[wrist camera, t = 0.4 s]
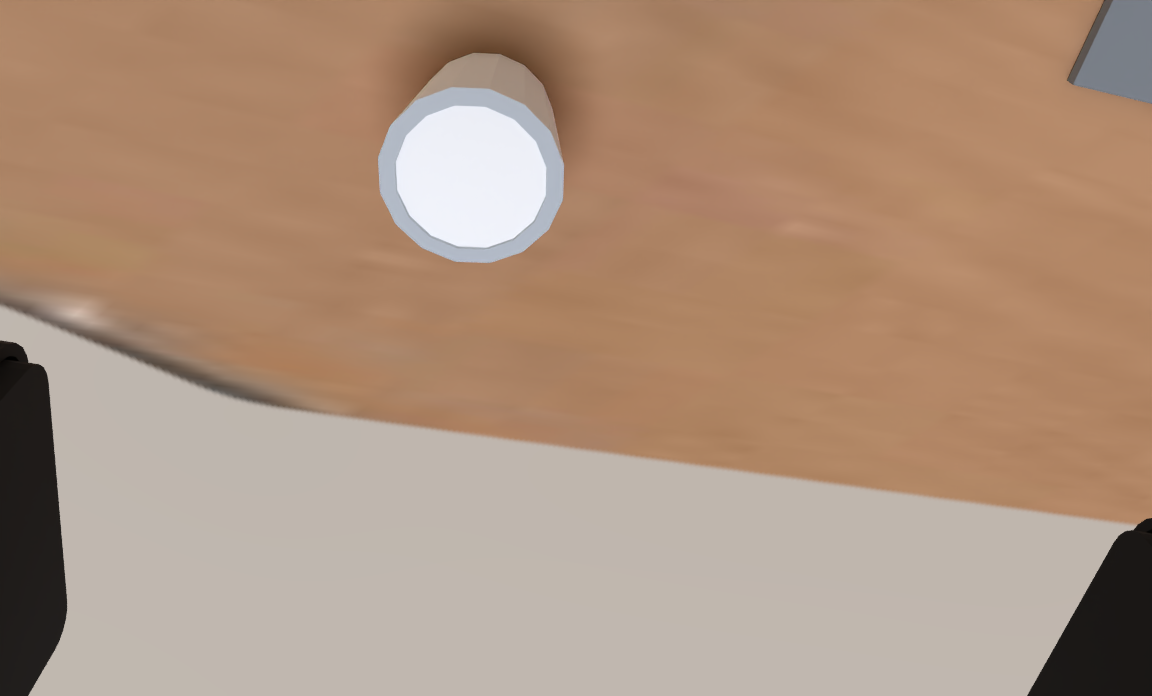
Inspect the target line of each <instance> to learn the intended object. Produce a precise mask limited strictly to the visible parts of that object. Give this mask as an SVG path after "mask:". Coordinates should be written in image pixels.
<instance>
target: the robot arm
mask: <svg viewBox="0 0 1152 696" xmlns="http://www.w3.org/2000/svg"><path fill="white" fill-rule="evenodd" d="M59 513H60V512H59V501H58V489H57V477H56V465H55V454H54V442H53V430H52V419H51V408H50V395H49V383H48V377H47V373H46V371H45V369H44V367H42V366H41V365H39V364H33V363H28V358H27V355H26V353H25V351H24V349H23V347H21V346H20V345H18V344H17V343H13V342H6V341H0V696H28V695H29V693H30V691H31V690H32V688H33V686H34V685H35V683H36V681H37V679H38V678H39V676H40V674H41V673H42V671H43V669H44V667H45V666H46V664H47V662H48V661H49V659H50V657H51V655H52V654H53V652H54V650H55V648H56V646H57V644H58V642H59V640H60V637H61V634H62V632H63V628H64V624H65V620H66V613H67V594H66V583H65V572H64V560H63V548H62V536H61V525H60V514H59ZM1027 696H1152V518H1149V519H1146V520H1144V521H1143V522H1141V523H1140V524H1138V525H1137V526H1136V528H1135V529H1134V530H1131V531H1125V532H1124V533H1122V534H1121V535H1119V536H1118V538H1117V539H1116V541H1115V542H1114V543H1113V545H1112V547H1111V549H1110V550H1109V552H1108V554H1107V556H1106V557H1105V559H1104V561H1103V563H1102V565H1101V566H1100V568H1099V570H1098V571H1097V573H1096V575H1095V577H1094V579H1093V580H1092V582H1091V584H1090V586H1089V587H1088V589H1087V591H1086V593H1085V594H1084V596H1083V598H1082V600H1081V602H1080V603H1079V605H1078V607H1077V609H1076V610H1075V612H1074V614H1073V616H1072V617H1071V619H1070V621H1069V623H1068V625H1067V626H1066V628H1065V630H1064V632H1063V633H1062V635H1061V637H1060V639H1059V640H1058V642H1057V644H1056V646H1055V648H1054V649H1053V651H1052V653H1051V655H1050V657H1049V658H1048V660H1047V662H1046V663H1045V665H1044V667H1043V669H1042V671H1041V672H1040V674H1039V676H1038V678H1037V680H1036V681H1035V683H1034V685H1033V686H1032V688H1031V690H1030V692H1029V694H1028V695H1027Z"/></svg>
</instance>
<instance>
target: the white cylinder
mask: <svg viewBox="0 0 1152 696" xmlns="http://www.w3.org/2000/svg"><path fill="white" fill-rule="evenodd" d="M378 166H379V182H380V193H381V195H382V197H383V199H384V201H385V203H386V205H387V207H388V209H389V211H390V214H391V216H392V218H393V220H394V222H395V224H396V225H397V226H398V227H400V228H401V229H402V230H403V231H404V232H405V233H406V234H407V235H408V236H409V237H410V238H412V239H413V240H414V241H415V242H416V243H417V244H418V245H419V246H420V247H421V248H423V249H426V250H428V251H430V252H433V253H435V254H438V255H440V256H443V257H445V258H448V259H450V260H453V261H455V262H482V263H491V262H494V261H497V260H500V259H503V258H506V257H509V256H512V255H515V254H518V253H521V252H523V251H524V250H525V249H527V248H528V247H529V246H530V245H531V244H532V243H534V242H535V241H536V240H537V239H538V238H539V237H540V236H542V235H543V234H544V233H545V232H546V231H547V230H548V229H549V227H550V225H551V223H552V221H553V219H554V217H555V215H556V213H557V211H558V209H559V207H560V205H561V202H562V200H563V181H564V162H563V158H562V153H561V148H560V143H559V138H558V133H557V128H556V123H555V118H554V114H553V109H552V106H551V104H550V101H549V99H548V96H547V93H546V91H545V88H544V86H543V84H542V83H541V82H540V81H539V80H538V79H537V78H536V77H535V76H534V75H533V74H532V72H531V71H530V70H529V69H528V68H527V67H526V66H525V65H523V64H521V63H519V62H516V61H514V60H512V59H510V58H508V57H506V56H503V55H501V54H489V53H471V54H469V55H466V56H463V57H461V58H458V59H455V60H453V61H450V62H448V63H447V64H446V65H445V66H444V67H443V68H442V69H441V70H440V71H439V72H438V73H437V74H436V75H435V76H434V77H433V78H432V79H431V80H430V81H429V82H428V83H427V84H426V85H425V86H424V88H423V89H422V90H421V91H420V92H419V93H418V94H417V96H416V97H415V98H414V99H413V100H412V101H411V102H410V104H409V105H408V106H407V107H406V108H405V109H404V110H403V112H402V113H401V114H400V115H399V116H398V117H397V118H396V120H395V121H394V122H393V123H392V124H391V125H390V128H389V130H388V133H387V136H386V138H385V141H384V144H383V146H382V149H381V151H380V154H379V157H378Z"/></svg>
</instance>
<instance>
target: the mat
mask: <svg viewBox="0 0 1152 696" xmlns="http://www.w3.org/2000/svg"><path fill="white" fill-rule="evenodd" d="M1067 81H1069V82H1070V83H1071V84H1073V85H1076V86H1080V87H1084V88H1089V89H1093V90H1097V91H1101V92H1105V93H1109V94H1114V95H1118V96H1122V97H1126V98H1130V99H1134V100H1139V101H1143V102H1147V103H1151V104H1152V0H1105V1H1104V3H1103V5H1102V8H1101V10H1100V12H1099V14H1098V16H1097V18H1096V20H1095V22H1094V25H1093V27H1092V29H1091V31H1090V33H1089V35H1088V37H1087V39H1086V42H1085V44H1084V46H1083V48H1082V50H1081V52H1080V54H1079V56H1078V59H1077V61H1076V63H1075V65H1074V67H1073V69H1072V71H1071V73H1070V76H1069V78H1068V80H1067Z"/></svg>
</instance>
